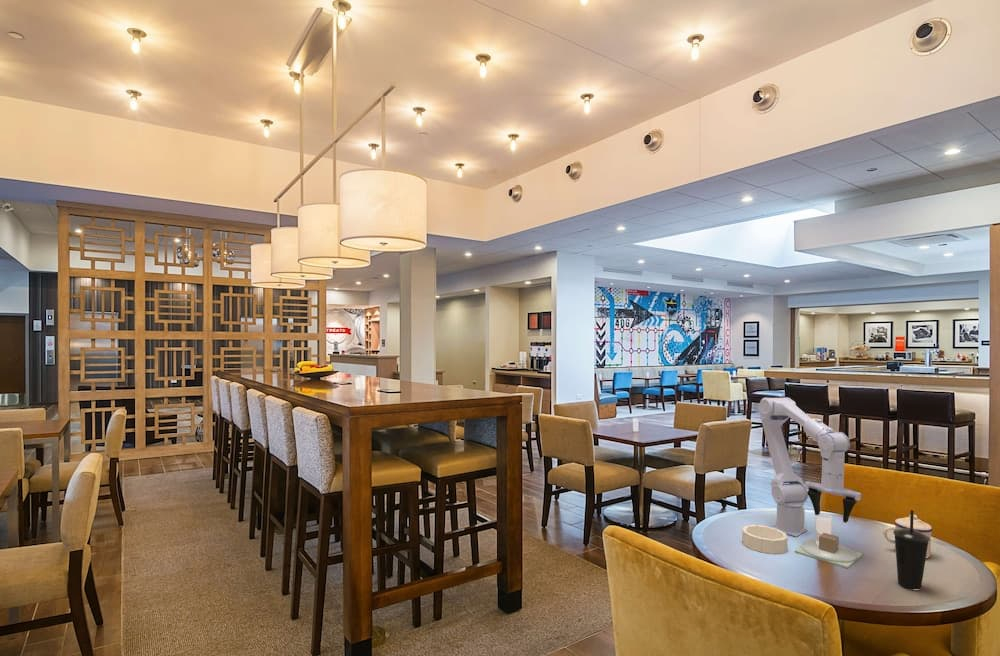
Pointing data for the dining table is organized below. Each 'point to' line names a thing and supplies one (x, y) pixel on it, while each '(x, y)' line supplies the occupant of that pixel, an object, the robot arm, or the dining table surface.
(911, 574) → the drinking cup
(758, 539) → the bowl
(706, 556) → the dining table surface
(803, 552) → the mat
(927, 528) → the teacup with lid
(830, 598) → the dining table surface
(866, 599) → the dining table surface
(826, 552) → the cover
